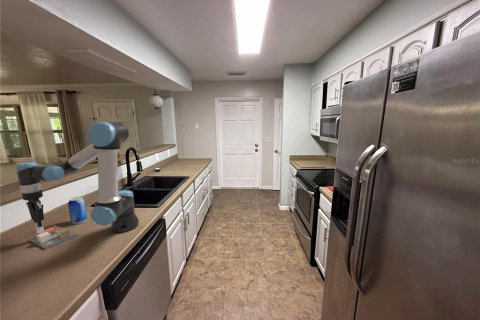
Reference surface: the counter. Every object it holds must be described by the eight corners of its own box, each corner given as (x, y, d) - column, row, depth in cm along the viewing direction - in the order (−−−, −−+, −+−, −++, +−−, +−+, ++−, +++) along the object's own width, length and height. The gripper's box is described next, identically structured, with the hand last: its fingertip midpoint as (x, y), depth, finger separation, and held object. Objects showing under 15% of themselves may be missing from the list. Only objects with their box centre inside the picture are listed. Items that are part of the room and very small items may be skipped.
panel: (77, 235, 113) (76, 232, 113) (45, 249, 101) (44, 245, 101) (60, 228, 121) (60, 225, 121) (29, 240, 108) (28, 236, 108)
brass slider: (69, 235, 111) (68, 230, 111) (60, 239, 108) (59, 233, 107) (65, 234, 113) (64, 228, 112) (57, 237, 109) (56, 231, 109)
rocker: (59, 229, 115) (59, 227, 115) (41, 236, 108) (41, 235, 108) (55, 227, 117) (54, 225, 117) (37, 234, 110) (36, 232, 110)
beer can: (90, 218, 134) (87, 196, 131) (79, 225, 125) (75, 201, 122) (79, 218, 134) (75, 195, 131) (67, 224, 126) (63, 200, 123)
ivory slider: (51, 239, 108) (50, 233, 107) (41, 243, 104) (40, 237, 104) (47, 237, 110) (46, 231, 109) (37, 241, 106) (36, 235, 105)
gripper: (47, 190, 105) (54, 231, 110) (35, 187, 111) (43, 226, 115) (27, 195, 99) (36, 238, 103) (16, 191, 104) (25, 232, 108)
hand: (40, 231), depth 109 cm, fingers closed
